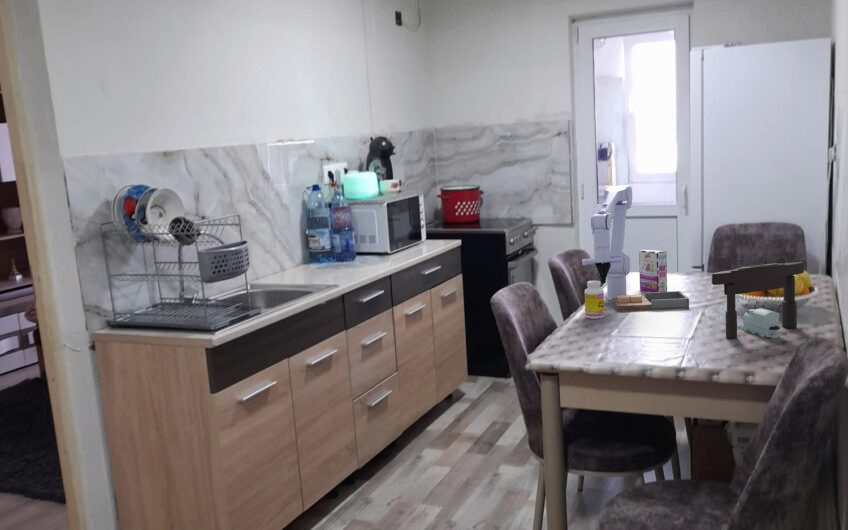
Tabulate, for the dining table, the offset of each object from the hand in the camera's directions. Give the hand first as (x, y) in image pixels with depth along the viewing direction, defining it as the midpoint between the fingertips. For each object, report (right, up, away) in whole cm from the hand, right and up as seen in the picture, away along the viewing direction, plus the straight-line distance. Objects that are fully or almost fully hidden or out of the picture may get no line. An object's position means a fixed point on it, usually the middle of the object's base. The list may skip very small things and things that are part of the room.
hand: (603, 283), depth 285 cm
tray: (+23, -8, -1) cm, 24 cm away
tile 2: (+12, -7, 0) cm, 14 cm away
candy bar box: (+26, -4, +26) cm, 37 cm away
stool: (+37, -14, -46) cm, 61 cm away
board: (+11, -9, 0) cm, 14 cm away
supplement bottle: (-6, -12, -12) cm, 18 cm away
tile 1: (+7, -7, 0) cm, 10 cm away
